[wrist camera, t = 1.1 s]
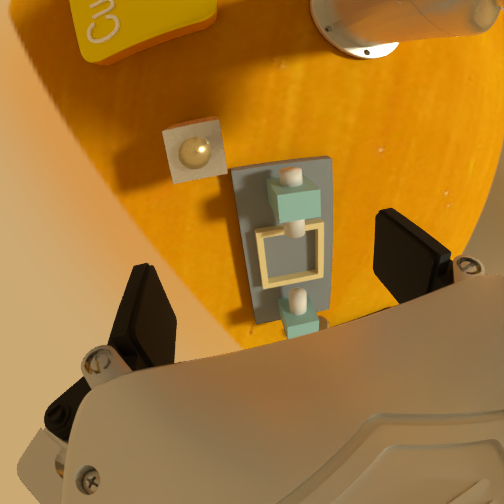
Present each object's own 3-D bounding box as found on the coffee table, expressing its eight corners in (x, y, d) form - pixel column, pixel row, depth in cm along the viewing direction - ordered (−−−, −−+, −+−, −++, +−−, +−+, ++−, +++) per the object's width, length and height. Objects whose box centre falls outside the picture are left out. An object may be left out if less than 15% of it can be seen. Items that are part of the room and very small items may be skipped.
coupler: (173, 123, 29) (160, 132, 21) (217, 115, 29) (219, 119, 21) (182, 164, 31) (172, 186, 24) (224, 156, 31) (228, 175, 24)
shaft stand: (230, 168, 32) (235, 187, 26) (327, 155, 33) (354, 171, 26) (254, 317, 45) (262, 353, 38) (326, 303, 45) (342, 335, 39)
